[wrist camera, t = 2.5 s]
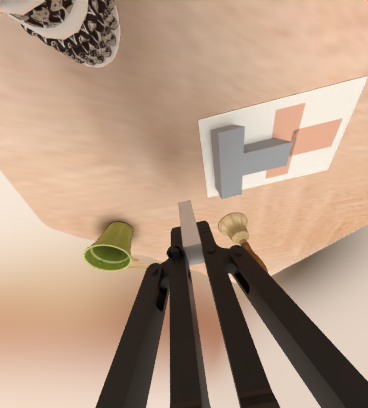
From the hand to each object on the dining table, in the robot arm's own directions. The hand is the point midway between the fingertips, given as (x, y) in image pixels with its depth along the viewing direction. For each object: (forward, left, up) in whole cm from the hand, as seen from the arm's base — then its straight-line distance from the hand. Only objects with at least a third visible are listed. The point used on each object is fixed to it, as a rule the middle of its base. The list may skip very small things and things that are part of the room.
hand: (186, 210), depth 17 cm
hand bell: (+19, +11, -14) cm, 26 cm away
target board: (0, +19, -13) cm, 23 cm away
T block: (0, +13, -13) cm, 18 cm away
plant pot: (+12, -19, -14) cm, 26 cm away
